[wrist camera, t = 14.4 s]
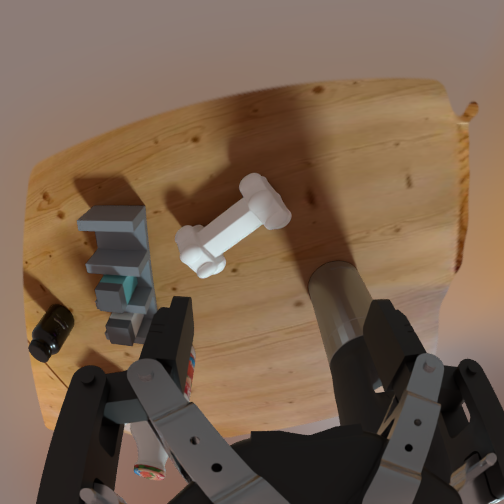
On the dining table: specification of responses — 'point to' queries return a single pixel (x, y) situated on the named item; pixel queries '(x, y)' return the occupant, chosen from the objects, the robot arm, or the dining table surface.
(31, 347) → the supplement bottle
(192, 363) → the fruit juice
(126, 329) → the offwhite plug
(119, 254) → the grey piece
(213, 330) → the dining table surface
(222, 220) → the bone shaped toy
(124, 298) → the teal plug
